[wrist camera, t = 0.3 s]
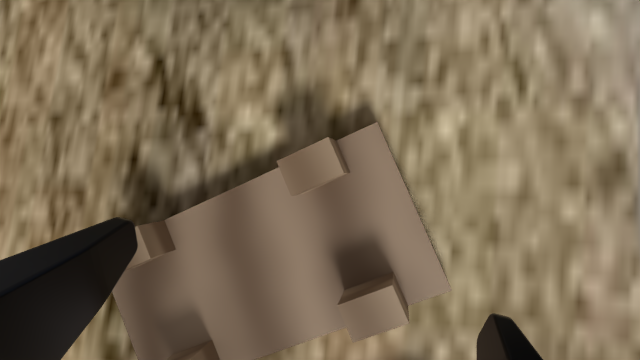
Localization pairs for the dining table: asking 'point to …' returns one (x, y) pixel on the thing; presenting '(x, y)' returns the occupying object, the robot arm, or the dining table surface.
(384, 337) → the dining table surface
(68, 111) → the dining table surface
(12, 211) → the dining table surface
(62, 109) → the dining table surface
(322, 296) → the tabbed beige plate
